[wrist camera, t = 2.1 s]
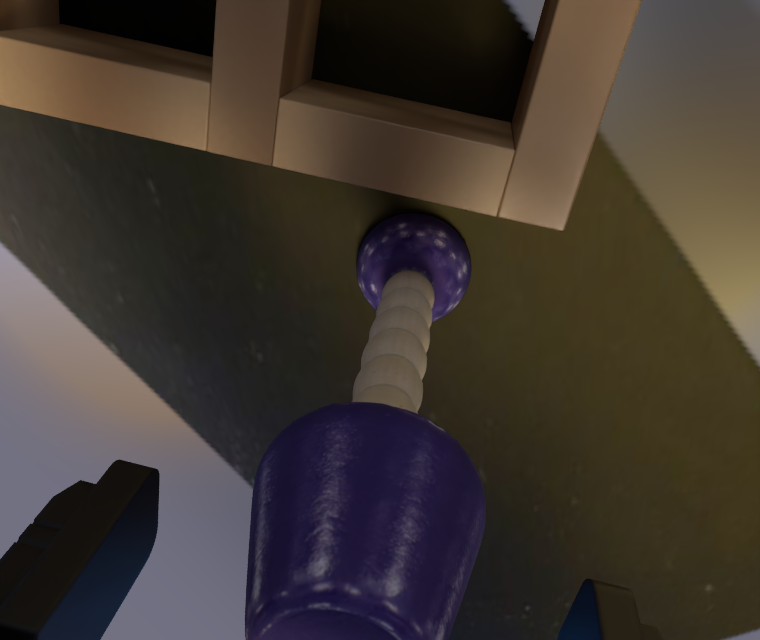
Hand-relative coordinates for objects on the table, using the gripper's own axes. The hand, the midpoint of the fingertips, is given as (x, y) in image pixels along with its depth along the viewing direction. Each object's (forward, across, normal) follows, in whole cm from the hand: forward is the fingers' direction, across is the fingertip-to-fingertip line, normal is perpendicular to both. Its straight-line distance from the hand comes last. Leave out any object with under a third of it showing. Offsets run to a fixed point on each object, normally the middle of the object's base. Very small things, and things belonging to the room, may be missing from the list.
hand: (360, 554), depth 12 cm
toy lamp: (+14, 0, 0) cm, 14 cm away
